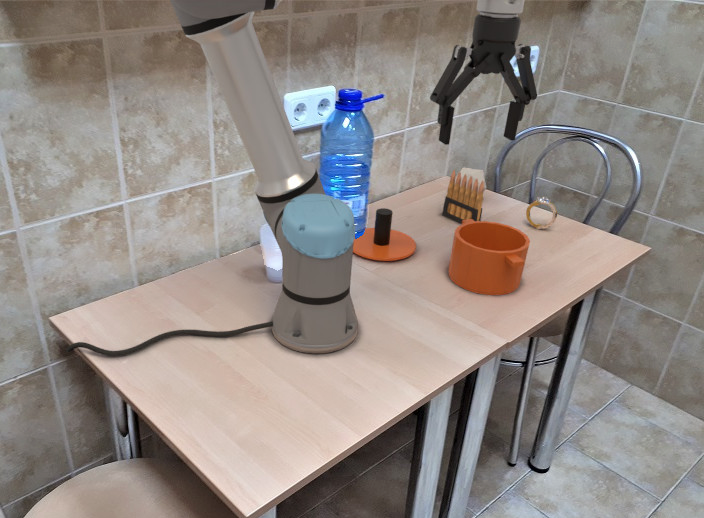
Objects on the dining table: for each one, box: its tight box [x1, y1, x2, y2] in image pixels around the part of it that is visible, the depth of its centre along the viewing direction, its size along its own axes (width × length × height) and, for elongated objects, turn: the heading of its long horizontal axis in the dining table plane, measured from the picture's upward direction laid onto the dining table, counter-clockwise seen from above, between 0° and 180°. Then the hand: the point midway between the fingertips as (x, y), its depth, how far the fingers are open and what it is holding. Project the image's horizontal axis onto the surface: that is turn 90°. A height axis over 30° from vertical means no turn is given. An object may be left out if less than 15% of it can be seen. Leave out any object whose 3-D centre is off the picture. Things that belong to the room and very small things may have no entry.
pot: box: [447, 219, 531, 296], centre depth 126 cm, size 15×20×10 cm
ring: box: [525, 196, 558, 230], centre depth 148 cm, size 7×3×8 cm, turn 50°
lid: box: [353, 207, 417, 262], centre depth 136 cm, size 16×16×9 cm
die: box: [455, 166, 487, 194], centre depth 163 cm, size 8×9×10 cm
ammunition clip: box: [441, 169, 485, 225], centre depth 149 cm, size 11×2×12 cm, turn 38°
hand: (476, 140), depth 113 cm, fingers open, 13 cm apart
